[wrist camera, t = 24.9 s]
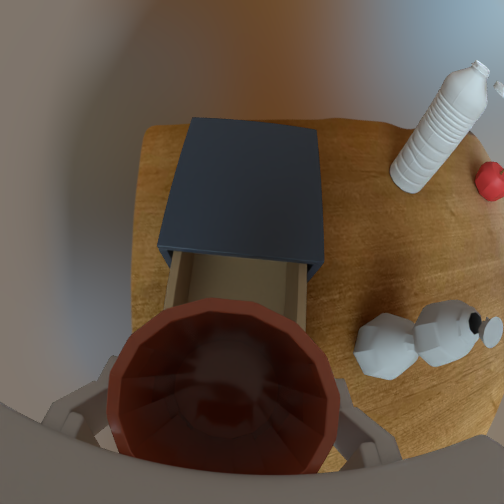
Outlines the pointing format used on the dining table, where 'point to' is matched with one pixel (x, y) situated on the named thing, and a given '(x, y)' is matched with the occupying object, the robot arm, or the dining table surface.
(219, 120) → the cabinet
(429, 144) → the water bottle
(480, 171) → the apple
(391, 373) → the gourd bottle
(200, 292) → the drawer
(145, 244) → the dining table surface
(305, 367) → the cup
